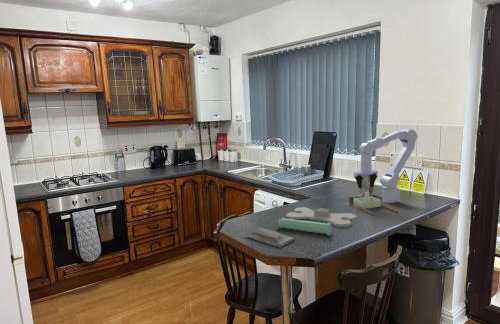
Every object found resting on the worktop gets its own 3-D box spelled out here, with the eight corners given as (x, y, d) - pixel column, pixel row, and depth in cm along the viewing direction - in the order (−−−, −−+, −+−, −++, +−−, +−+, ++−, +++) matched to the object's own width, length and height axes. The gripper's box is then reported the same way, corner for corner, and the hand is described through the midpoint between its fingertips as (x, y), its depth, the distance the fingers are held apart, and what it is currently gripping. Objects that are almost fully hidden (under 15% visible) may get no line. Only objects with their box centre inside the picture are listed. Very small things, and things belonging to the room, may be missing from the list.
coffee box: (364, 193, 217) (364, 169, 214) (374, 195, 213) (374, 170, 210) (359, 196, 210) (359, 171, 207) (369, 198, 206) (369, 172, 203)
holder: (348, 229, 155) (348, 219, 154) (282, 219, 174) (282, 210, 173) (359, 218, 171) (359, 208, 170) (298, 209, 189) (298, 201, 189)
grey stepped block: (280, 249, 136) (279, 241, 136) (244, 238, 150) (244, 230, 149) (294, 241, 143) (294, 234, 143) (259, 231, 157) (259, 224, 157)
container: (277, 216, 159) (328, 222, 146) (282, 217, 164) (332, 223, 151) (275, 228, 158) (327, 235, 145) (280, 229, 163) (331, 236, 150)
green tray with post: (371, 202, 192) (372, 189, 191) (380, 206, 184) (381, 192, 183) (353, 205, 189) (353, 191, 188) (361, 209, 181) (361, 195, 180)
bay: (369, 202, 196) (369, 193, 196) (397, 213, 174) (398, 203, 173) (346, 205, 192) (346, 195, 192) (372, 217, 170) (372, 206, 169)
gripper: (359, 166, 184) (358, 190, 186) (381, 164, 187) (381, 187, 190) (351, 164, 190) (351, 187, 192) (373, 162, 194) (373, 185, 196)
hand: (365, 187), depth 191 cm, fingers open, 7 cm apart
